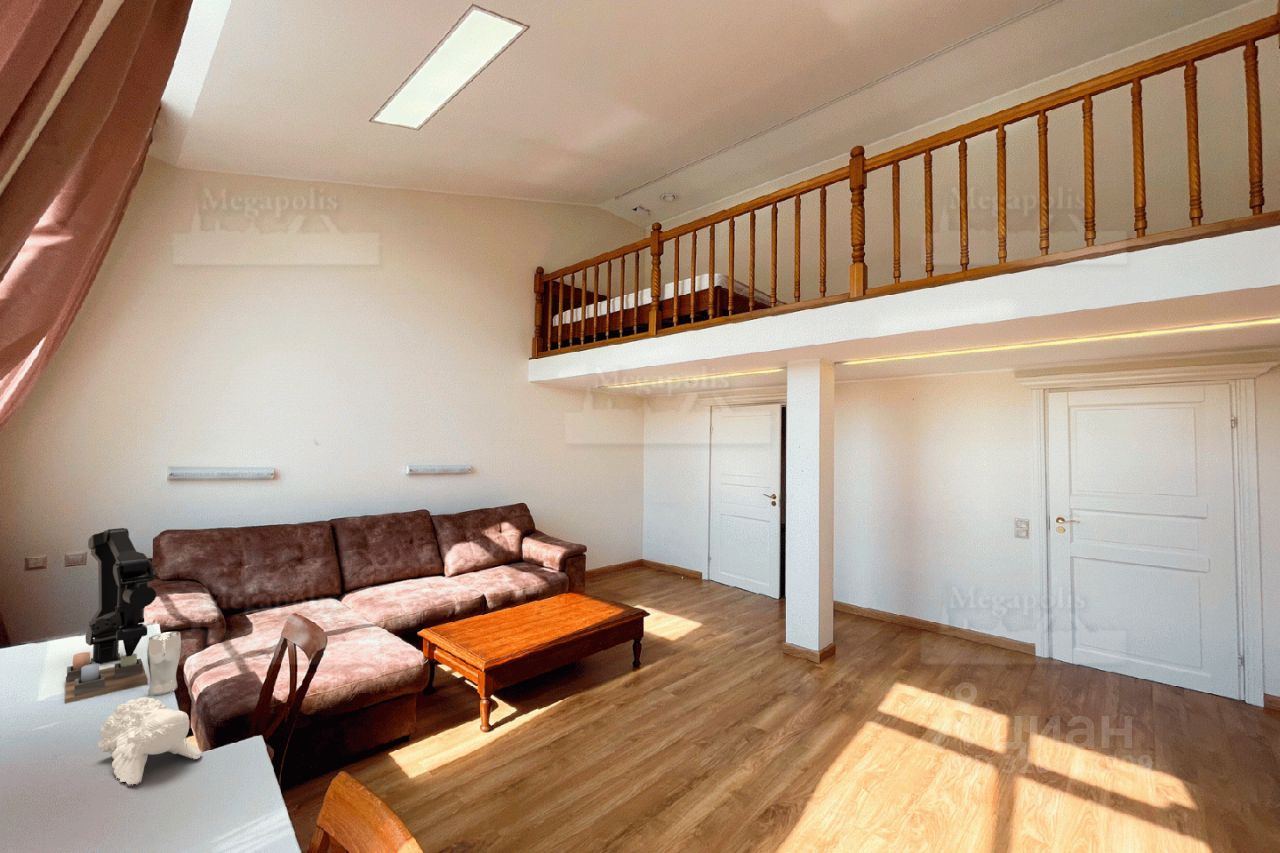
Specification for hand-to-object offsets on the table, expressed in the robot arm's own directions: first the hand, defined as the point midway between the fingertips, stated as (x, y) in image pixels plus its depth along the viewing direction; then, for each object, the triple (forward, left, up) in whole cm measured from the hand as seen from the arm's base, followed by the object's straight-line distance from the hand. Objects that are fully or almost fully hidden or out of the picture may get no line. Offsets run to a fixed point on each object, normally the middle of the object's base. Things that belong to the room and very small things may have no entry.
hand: (129, 655), depth 157 cm
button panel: (0, -5, -6) cm, 8 cm away
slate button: (+7, -8, -3) cm, 11 cm away
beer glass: (+18, +6, -6) cm, 20 cm away
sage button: (0, 0, -5) cm, 5 cm away
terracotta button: (-6, -9, -3) cm, 12 cm away
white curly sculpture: (+59, +1, -7) cm, 60 cm away
